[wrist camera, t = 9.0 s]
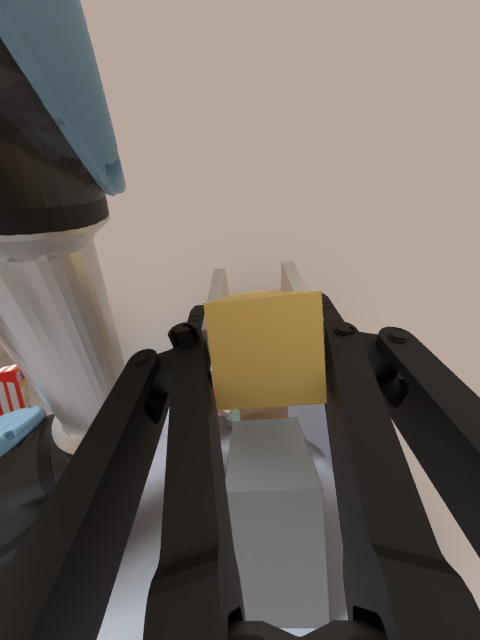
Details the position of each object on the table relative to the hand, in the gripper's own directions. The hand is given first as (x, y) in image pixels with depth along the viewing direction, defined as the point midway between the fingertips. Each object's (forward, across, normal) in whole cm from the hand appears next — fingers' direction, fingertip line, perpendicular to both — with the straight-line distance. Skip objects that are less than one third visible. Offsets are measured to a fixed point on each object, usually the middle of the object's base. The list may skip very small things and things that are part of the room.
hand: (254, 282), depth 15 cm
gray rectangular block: (-12, 0, -38) cm, 40 cm away
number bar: (0, 0, -6) cm, 6 cm away
